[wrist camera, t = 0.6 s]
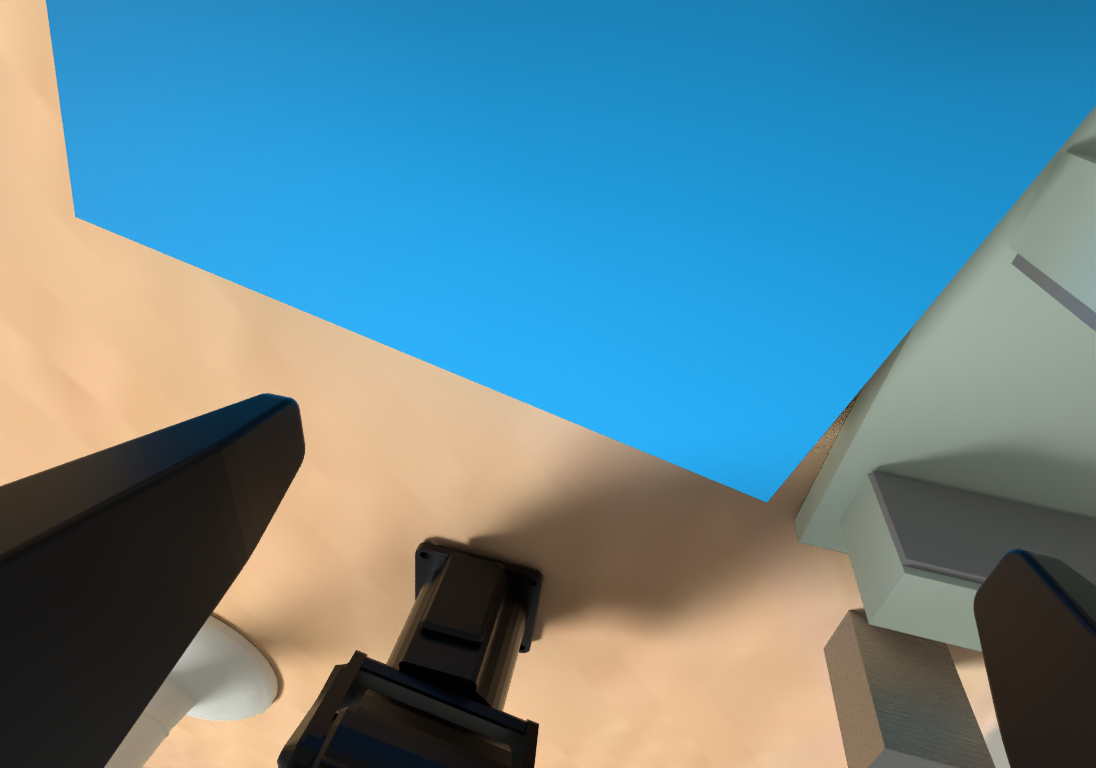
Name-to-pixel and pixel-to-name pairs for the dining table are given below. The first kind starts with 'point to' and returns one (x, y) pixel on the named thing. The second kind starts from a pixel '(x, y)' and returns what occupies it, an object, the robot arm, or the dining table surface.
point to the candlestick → (202, 690)
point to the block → (900, 700)
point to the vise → (967, 444)
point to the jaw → (1063, 237)
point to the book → (585, 183)
